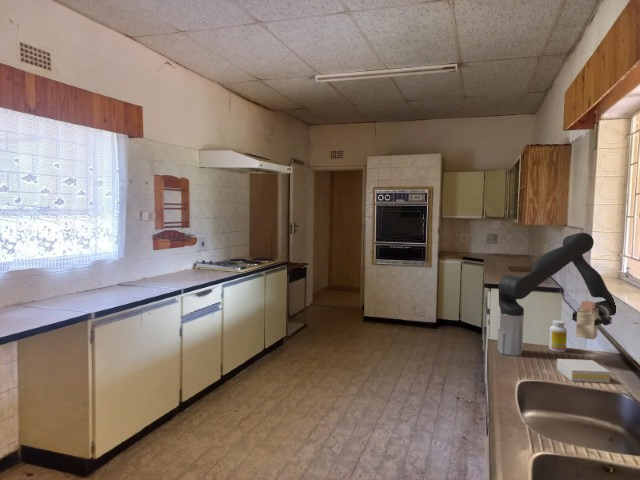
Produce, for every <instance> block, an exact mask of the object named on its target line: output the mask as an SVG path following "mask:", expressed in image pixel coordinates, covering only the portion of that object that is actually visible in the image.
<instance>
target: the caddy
mask: <svg viewBox="0 0 640 480" xmlns="http://www.w3.org/2000/svg"><path fill="white" fill-rule="evenodd" d="M576 309H577V311H576V312H577V323H576V327H575V328H576V329H575V330H576V331H575V332H576V333H575V337H577V338H583V339H587V340H591V341H592V340H595V339H596V338H597V337H598V328H599V327H598V326H599V325H597V326H594V321H595V320H596V319H598V312H599V308H595V310H594V311H593V310H587V309H581V306H579V307H577V308H576Z"/></svg>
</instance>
